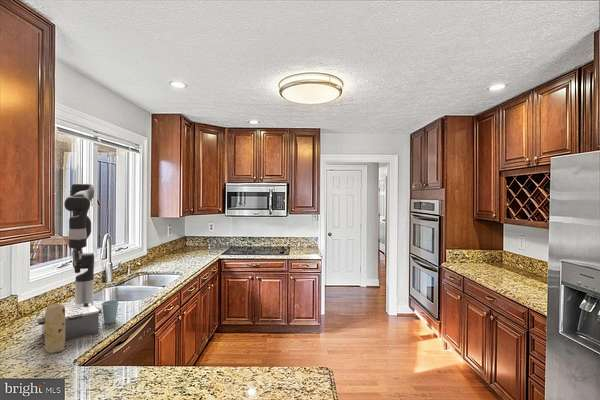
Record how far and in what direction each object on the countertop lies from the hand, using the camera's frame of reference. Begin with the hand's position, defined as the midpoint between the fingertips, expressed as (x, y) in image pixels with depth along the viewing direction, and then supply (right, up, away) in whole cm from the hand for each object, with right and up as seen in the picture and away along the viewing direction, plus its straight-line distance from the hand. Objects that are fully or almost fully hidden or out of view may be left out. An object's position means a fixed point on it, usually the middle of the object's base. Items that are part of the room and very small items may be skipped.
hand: (77, 272), depth 173 cm
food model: (+3, -30, -21) cm, 36 cm away
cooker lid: (-1, -19, -3) cm, 19 cm away
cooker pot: (-2, -29, -2) cm, 29 cm away
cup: (+8, -30, +15) cm, 34 cm away
